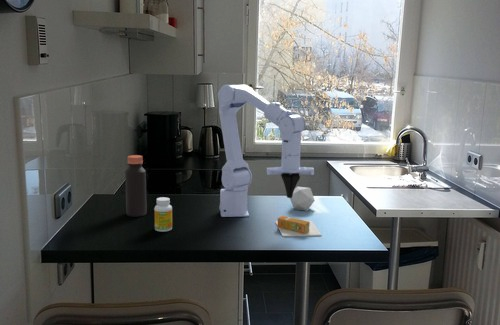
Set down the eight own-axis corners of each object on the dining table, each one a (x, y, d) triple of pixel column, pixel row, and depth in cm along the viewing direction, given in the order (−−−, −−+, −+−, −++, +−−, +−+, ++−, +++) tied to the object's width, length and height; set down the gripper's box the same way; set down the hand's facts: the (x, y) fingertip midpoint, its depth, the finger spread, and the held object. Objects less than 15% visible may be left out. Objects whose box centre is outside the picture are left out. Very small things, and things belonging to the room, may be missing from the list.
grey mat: (282, 236, 149) (282, 235, 149) (275, 222, 163) (275, 220, 163) (321, 235, 151) (321, 234, 151) (311, 221, 164) (311, 220, 164)
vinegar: (132, 218, 164) (130, 159, 160) (122, 213, 169) (120, 156, 165) (150, 214, 168) (149, 156, 164) (140, 210, 173) (139, 153, 169)
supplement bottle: (157, 232, 151) (157, 202, 149) (152, 227, 155) (151, 197, 153) (174, 230, 153) (174, 200, 151) (169, 225, 158) (168, 195, 156)
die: (317, 209, 181) (307, 185, 184) (318, 203, 173) (307, 179, 176) (296, 217, 181) (286, 193, 184) (296, 212, 172) (286, 187, 176)
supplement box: (276, 217, 155) (305, 223, 150) (282, 215, 158) (310, 221, 153) (276, 228, 156) (304, 234, 151) (282, 225, 159) (310, 231, 153)
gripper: (269, 156, 147) (268, 200, 150) (317, 156, 149) (315, 200, 151) (266, 152, 154) (265, 194, 157) (311, 152, 156) (309, 194, 158)
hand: (289, 197), depth 155 cm, fingers closed
